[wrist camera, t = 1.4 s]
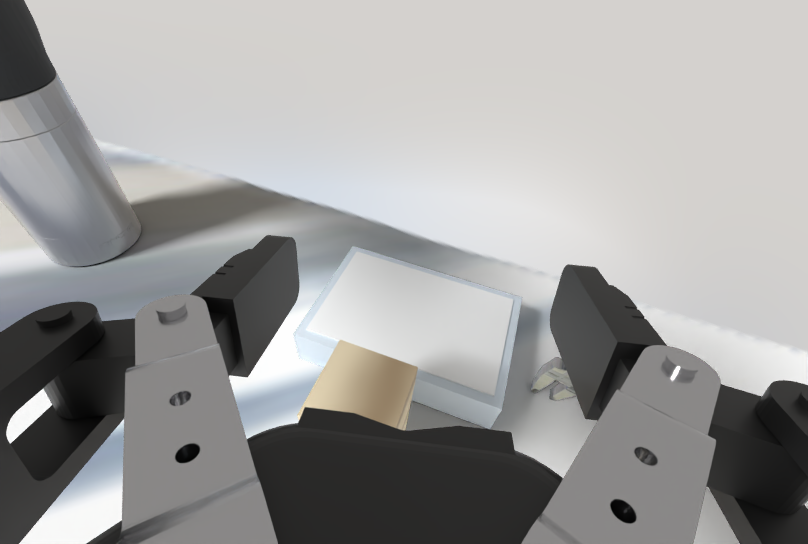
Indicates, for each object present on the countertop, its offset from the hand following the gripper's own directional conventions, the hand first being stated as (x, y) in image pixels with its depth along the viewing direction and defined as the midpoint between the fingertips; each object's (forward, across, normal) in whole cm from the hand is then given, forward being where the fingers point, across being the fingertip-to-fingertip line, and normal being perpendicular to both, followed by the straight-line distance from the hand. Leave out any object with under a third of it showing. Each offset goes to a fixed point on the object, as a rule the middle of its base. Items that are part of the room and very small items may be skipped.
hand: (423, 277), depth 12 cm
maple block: (+9, +4, +22) cm, 24 cm away
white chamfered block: (+20, +1, +18) cm, 27 cm away
